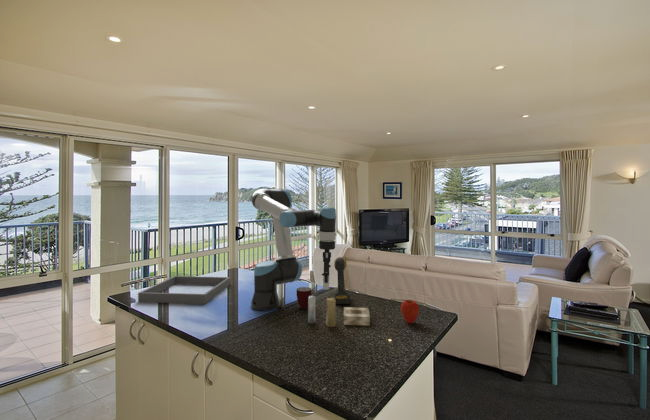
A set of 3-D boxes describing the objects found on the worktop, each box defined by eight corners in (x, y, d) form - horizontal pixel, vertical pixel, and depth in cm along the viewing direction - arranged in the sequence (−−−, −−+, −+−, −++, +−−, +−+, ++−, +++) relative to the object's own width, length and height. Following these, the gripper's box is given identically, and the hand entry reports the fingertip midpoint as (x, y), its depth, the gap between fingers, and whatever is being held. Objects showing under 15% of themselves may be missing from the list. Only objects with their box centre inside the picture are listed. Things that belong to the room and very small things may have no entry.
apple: (396, 320, 153) (396, 298, 153) (411, 318, 156) (411, 296, 156) (407, 327, 145) (408, 304, 145) (422, 324, 149) (423, 301, 148)
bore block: (343, 324, 148) (343, 316, 148) (343, 315, 160) (343, 307, 160) (369, 325, 147) (369, 316, 147) (367, 315, 159) (368, 307, 159)
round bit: (307, 323, 149) (307, 297, 149) (308, 320, 153) (308, 295, 152) (314, 323, 149) (315, 297, 149) (315, 320, 153) (315, 295, 152)
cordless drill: (350, 295, 192) (350, 253, 191) (349, 306, 173) (350, 260, 171) (335, 294, 193) (335, 253, 192) (332, 305, 173) (333, 259, 172)
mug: (318, 308, 169) (318, 289, 168) (307, 312, 163) (307, 293, 162) (303, 304, 176) (304, 286, 175) (293, 307, 170) (293, 289, 169)
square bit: (327, 327, 145) (327, 300, 145) (325, 323, 149) (326, 298, 148) (335, 326, 146) (335, 300, 145) (333, 323, 149) (333, 297, 149)
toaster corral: (138, 301, 177) (138, 293, 177) (174, 283, 215) (174, 275, 215) (205, 303, 175) (205, 294, 174) (230, 284, 212) (230, 277, 212)
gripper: (335, 245, 138) (334, 293, 139) (334, 236, 163) (333, 277, 164) (318, 244, 138) (317, 293, 139) (320, 236, 163) (319, 277, 164)
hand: (326, 284), depth 152 cm, fingers open, 13 cm apart
